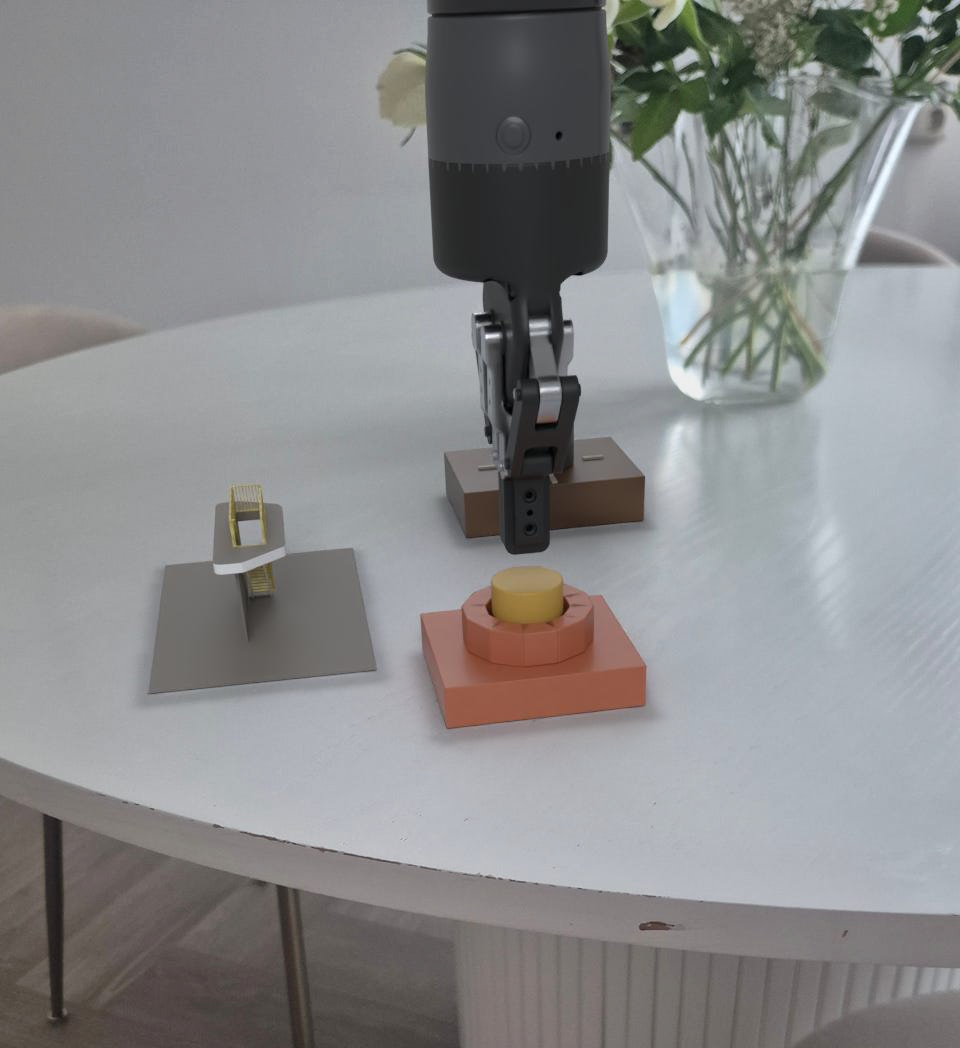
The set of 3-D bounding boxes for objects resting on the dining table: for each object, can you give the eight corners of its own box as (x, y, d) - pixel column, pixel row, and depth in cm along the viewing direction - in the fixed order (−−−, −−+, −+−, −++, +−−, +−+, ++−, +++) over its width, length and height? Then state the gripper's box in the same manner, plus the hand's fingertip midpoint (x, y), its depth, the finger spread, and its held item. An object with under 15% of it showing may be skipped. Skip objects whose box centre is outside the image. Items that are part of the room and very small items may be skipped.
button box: (600, 631, 70) (602, 562, 68) (645, 705, 63) (648, 631, 60) (422, 650, 69) (417, 581, 66) (446, 728, 61) (442, 654, 59)
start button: (554, 594, 65) (554, 561, 64) (570, 622, 62) (570, 589, 61) (486, 601, 65) (485, 569, 64) (498, 630, 62) (497, 596, 61)
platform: (352, 547, 82) (342, 446, 78) (376, 669, 67) (365, 551, 63) (165, 565, 80) (145, 462, 77) (148, 693, 66) (123, 574, 62)
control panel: (609, 478, 91) (610, 434, 89) (643, 520, 84) (645, 473, 82) (446, 493, 90) (443, 449, 88) (466, 538, 82) (463, 490, 81)
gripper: (651, 156, 47) (635, 592, 57) (571, 125, 58) (569, 497, 68) (452, 168, 46) (471, 609, 56) (408, 134, 57) (430, 510, 67)
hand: (524, 547), depth 62 cm, fingers closed
